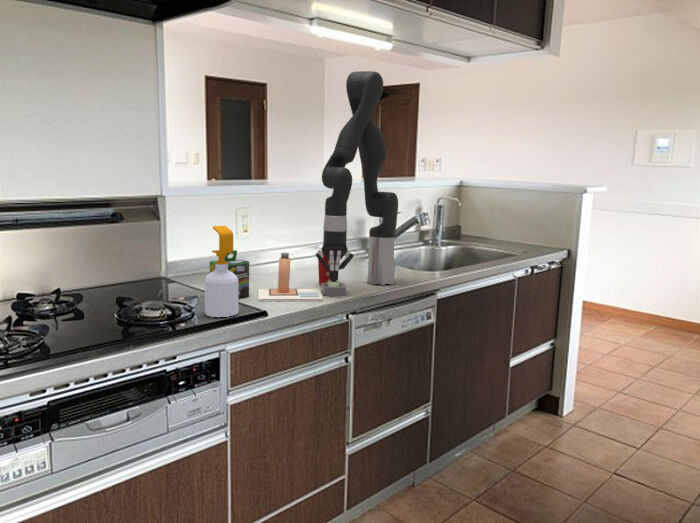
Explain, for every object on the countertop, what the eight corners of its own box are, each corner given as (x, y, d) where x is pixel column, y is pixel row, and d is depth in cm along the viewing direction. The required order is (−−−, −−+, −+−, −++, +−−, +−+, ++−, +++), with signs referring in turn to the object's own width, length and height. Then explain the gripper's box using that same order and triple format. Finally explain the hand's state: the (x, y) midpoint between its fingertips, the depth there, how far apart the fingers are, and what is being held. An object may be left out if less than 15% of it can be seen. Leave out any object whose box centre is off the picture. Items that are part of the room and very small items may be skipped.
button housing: (342, 291, 193) (343, 282, 193) (346, 296, 186) (346, 287, 185) (321, 291, 192) (321, 282, 191) (323, 296, 185) (323, 287, 184)
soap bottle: (227, 308, 165) (227, 224, 161) (244, 315, 159) (244, 227, 155) (199, 313, 160) (198, 225, 156) (214, 320, 153) (214, 228, 149)
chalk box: (231, 292, 187) (231, 247, 185) (250, 296, 181) (250, 250, 179) (208, 296, 180) (208, 249, 178) (227, 301, 174) (227, 253, 172)
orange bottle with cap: (288, 290, 187) (290, 252, 185) (288, 293, 184) (290, 254, 182) (277, 290, 187) (279, 252, 185) (277, 292, 183) (279, 253, 181)
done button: (338, 291, 191) (338, 280, 190) (340, 294, 187) (340, 282, 187) (326, 291, 190) (327, 280, 190) (328, 294, 187) (328, 282, 186)
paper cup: (333, 288, 198) (334, 248, 195) (312, 286, 200) (313, 246, 198) (341, 284, 205) (342, 245, 202) (321, 282, 207) (322, 244, 205)
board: (318, 291, 192) (318, 288, 192) (323, 301, 178) (323, 297, 178) (258, 291, 189) (258, 288, 189) (258, 301, 175) (258, 298, 175)
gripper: (316, 230, 181) (314, 283, 183) (357, 230, 183) (355, 283, 185) (313, 227, 188) (312, 279, 191) (353, 228, 190) (351, 279, 193)
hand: (333, 281), depth 188 cm, fingers closed
